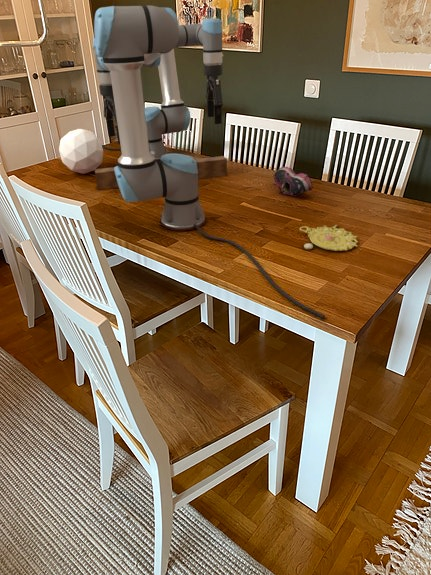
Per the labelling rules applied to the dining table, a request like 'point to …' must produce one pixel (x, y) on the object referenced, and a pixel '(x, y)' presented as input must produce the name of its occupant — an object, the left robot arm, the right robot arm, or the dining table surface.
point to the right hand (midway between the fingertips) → (116, 139)
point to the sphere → (81, 151)
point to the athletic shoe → (292, 181)
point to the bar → (204, 167)
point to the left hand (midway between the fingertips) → (214, 120)
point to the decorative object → (330, 238)
